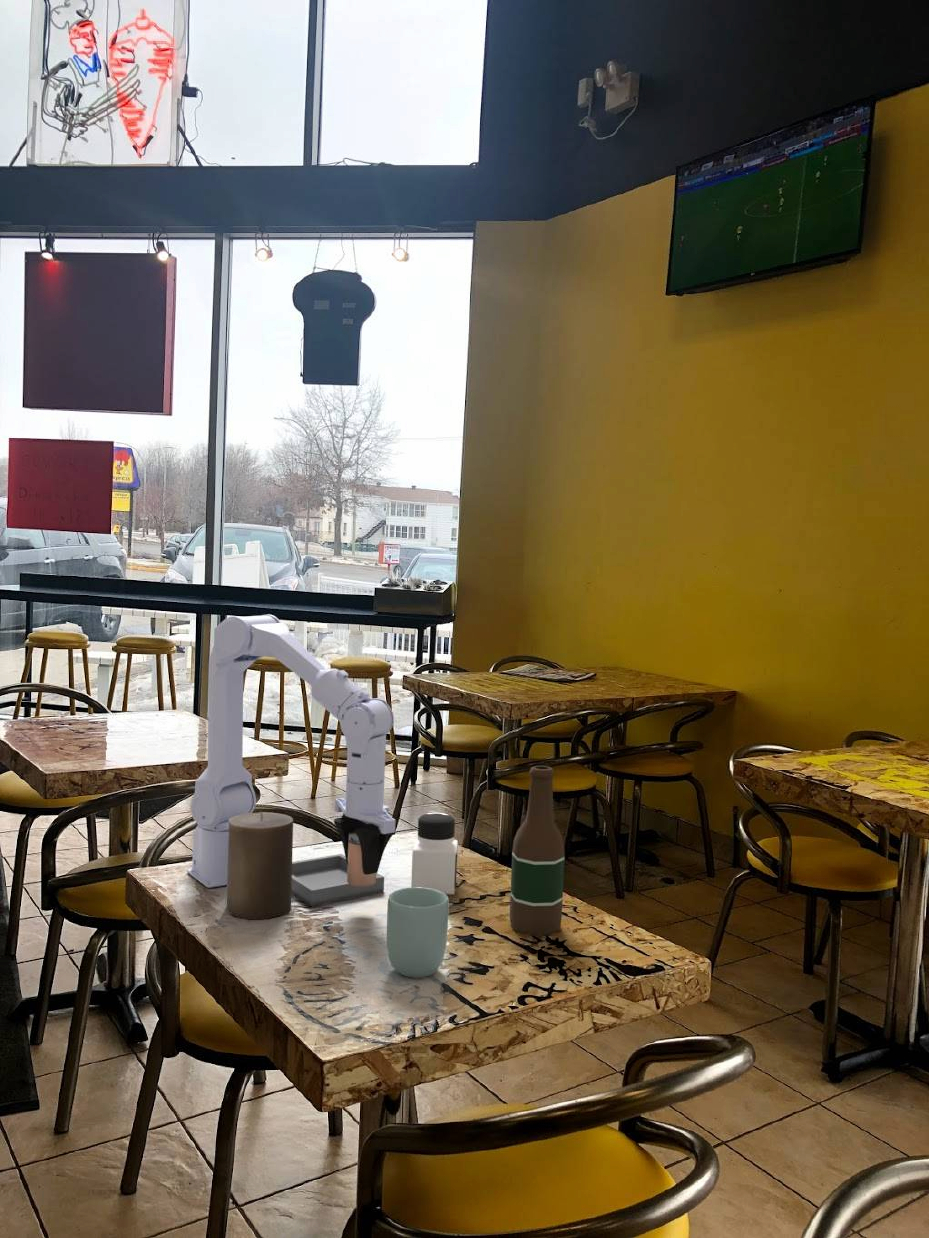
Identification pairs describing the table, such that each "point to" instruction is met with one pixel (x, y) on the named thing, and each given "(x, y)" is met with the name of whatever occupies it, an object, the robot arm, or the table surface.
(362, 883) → the salt shaker
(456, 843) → the medicine bottle
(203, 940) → the table surface
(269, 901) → the pillar candle
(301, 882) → the tray
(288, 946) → the table surface
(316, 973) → the table surface
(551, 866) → the beer bottle
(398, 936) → the cup
